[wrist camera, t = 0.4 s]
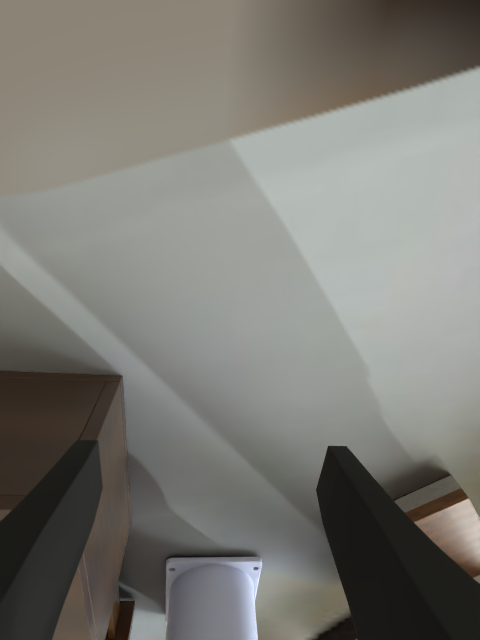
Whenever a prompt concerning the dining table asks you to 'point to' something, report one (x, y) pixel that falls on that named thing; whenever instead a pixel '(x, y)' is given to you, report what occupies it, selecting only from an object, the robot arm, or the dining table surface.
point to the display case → (447, 521)
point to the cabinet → (43, 453)
